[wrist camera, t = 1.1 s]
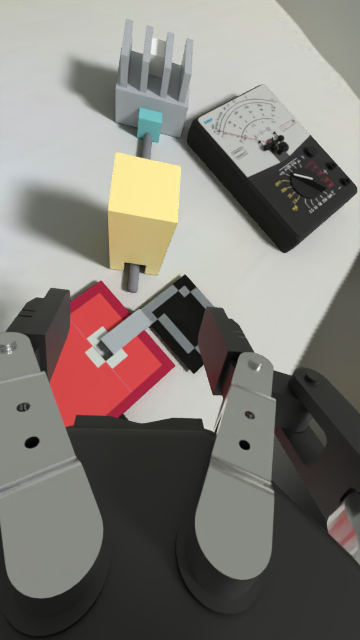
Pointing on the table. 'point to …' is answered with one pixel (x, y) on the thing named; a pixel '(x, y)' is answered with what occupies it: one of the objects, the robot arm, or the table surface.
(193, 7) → the table surface
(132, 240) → the yellow block
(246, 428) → the robot arm
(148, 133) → the rod
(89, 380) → the red board with handle
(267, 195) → the multimeter
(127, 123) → the rack
